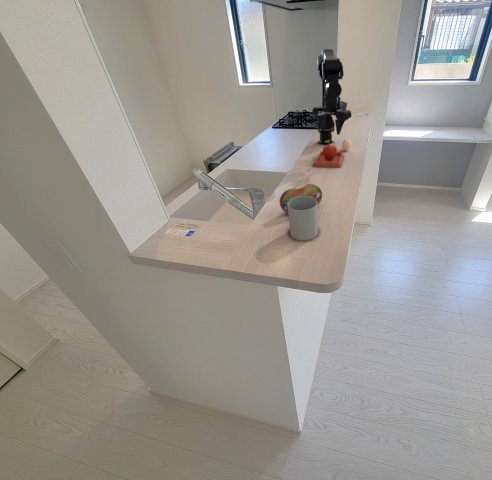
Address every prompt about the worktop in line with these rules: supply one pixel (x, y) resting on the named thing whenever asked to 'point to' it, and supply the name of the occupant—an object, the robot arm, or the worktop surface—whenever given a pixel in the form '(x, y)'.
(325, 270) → the worktop surface
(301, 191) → the tin
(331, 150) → the apple
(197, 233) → the worktop surface
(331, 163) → the tray
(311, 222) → the cup
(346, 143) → the egg
